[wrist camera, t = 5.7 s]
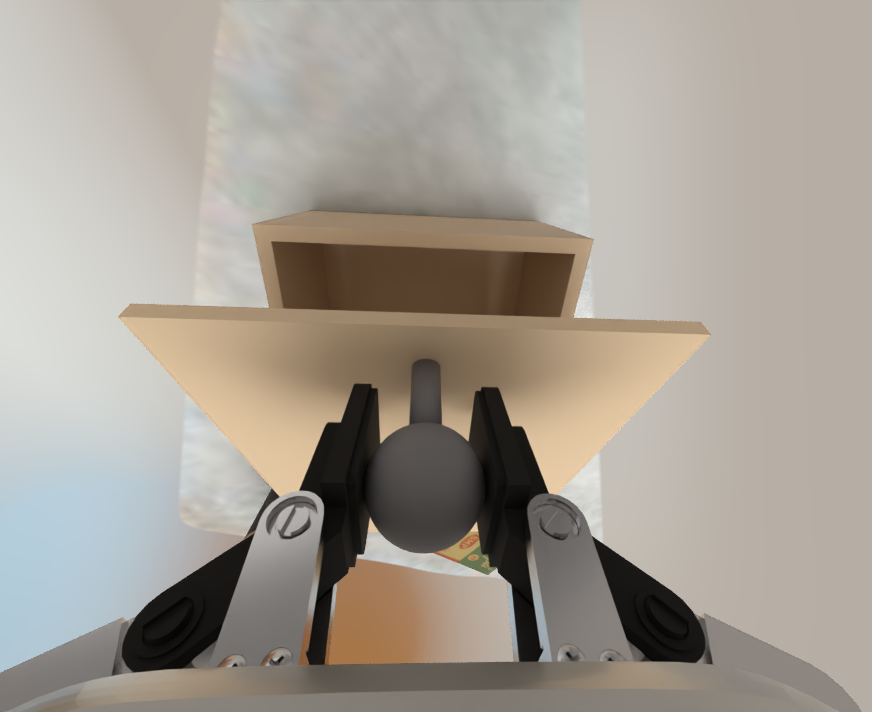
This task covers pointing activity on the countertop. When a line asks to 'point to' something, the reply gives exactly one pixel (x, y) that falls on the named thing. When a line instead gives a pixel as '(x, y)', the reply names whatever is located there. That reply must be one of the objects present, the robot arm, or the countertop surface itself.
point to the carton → (468, 554)
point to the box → (421, 264)
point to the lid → (412, 393)
